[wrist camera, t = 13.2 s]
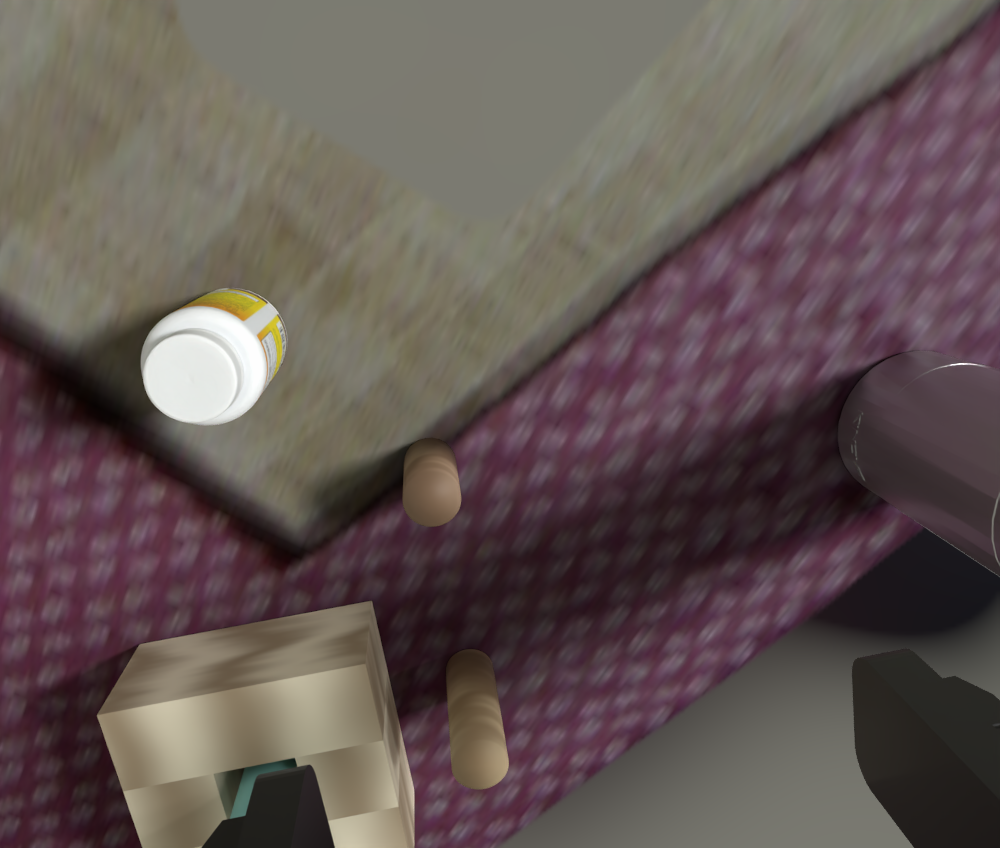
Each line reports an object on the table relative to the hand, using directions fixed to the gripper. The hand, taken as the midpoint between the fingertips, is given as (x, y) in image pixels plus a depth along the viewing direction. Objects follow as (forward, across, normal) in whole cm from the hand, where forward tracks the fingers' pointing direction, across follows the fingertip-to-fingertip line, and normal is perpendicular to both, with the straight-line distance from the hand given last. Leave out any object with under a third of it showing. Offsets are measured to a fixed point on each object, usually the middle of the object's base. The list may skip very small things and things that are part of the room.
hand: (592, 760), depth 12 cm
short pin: (+36, +3, +7) cm, 37 cm away
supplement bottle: (+36, +12, -2) cm, 38 cm away
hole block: (+36, +15, +22) cm, 45 cm away
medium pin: (+36, +3, +21) cm, 42 cm away
